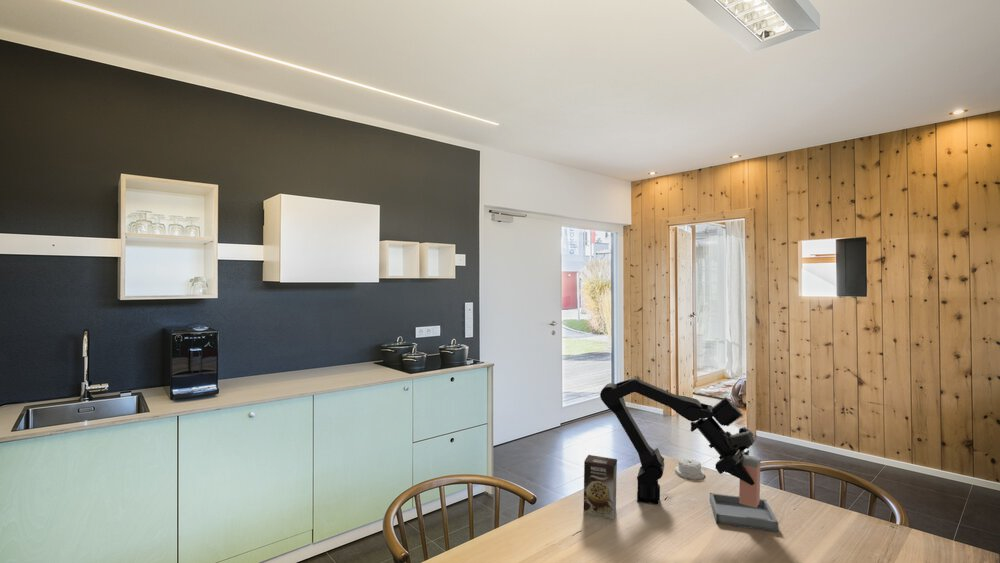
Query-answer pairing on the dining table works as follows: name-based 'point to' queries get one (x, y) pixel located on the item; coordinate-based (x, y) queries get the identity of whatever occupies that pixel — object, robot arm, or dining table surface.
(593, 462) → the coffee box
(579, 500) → the dining table surface
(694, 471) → the white round piece
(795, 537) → the dining table surface
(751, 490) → the pink and gray block
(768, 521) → the tray
